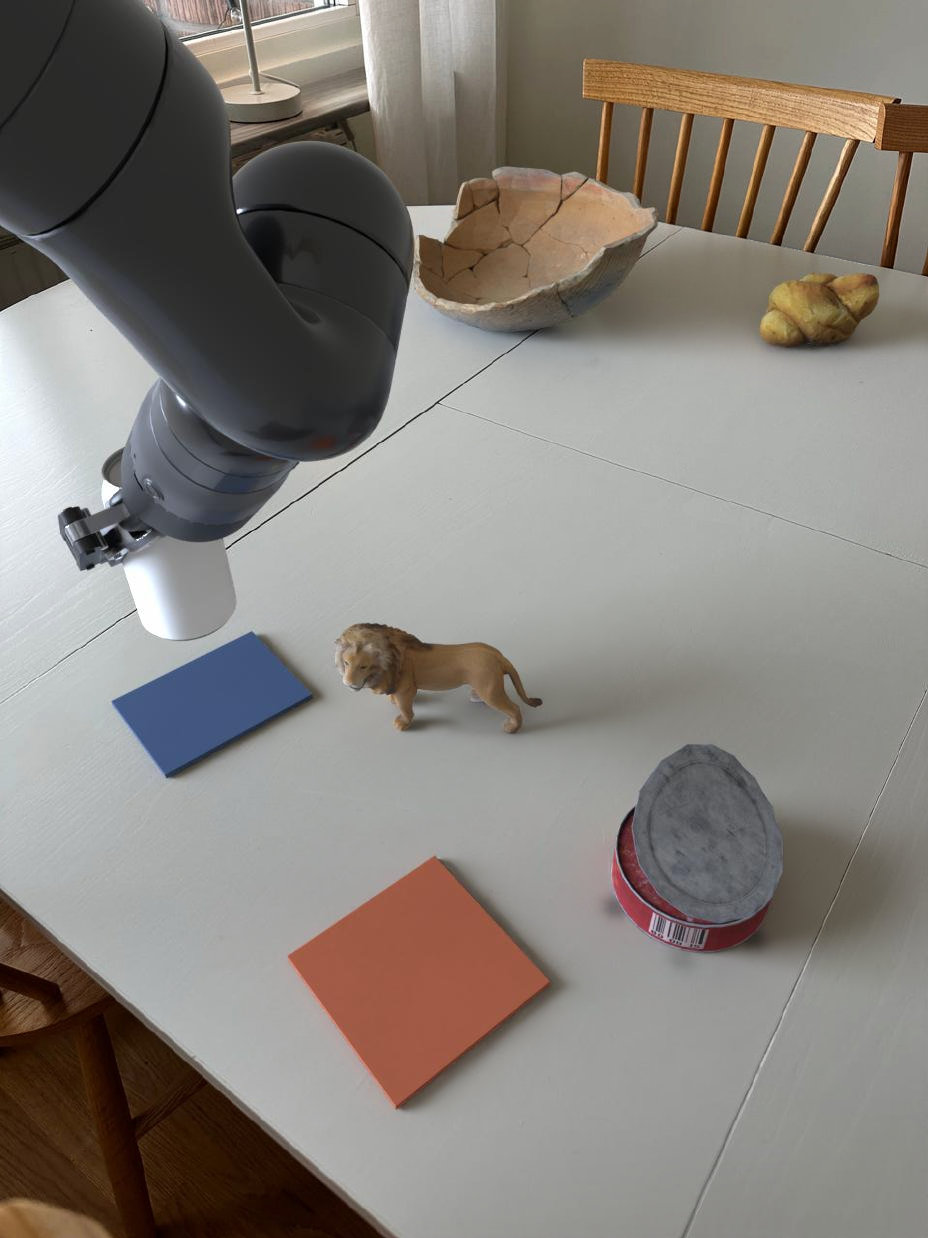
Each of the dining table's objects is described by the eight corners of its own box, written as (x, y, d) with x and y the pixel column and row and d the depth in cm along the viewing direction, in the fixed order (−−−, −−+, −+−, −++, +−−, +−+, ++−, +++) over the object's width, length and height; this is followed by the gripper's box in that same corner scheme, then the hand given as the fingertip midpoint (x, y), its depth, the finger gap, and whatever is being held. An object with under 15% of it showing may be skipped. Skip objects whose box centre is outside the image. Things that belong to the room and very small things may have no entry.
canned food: (720, 867, 67) (817, 785, 62) (728, 997, 59) (841, 918, 54) (580, 796, 66) (667, 705, 60) (569, 921, 58) (668, 830, 52)
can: (122, 616, 67) (72, 467, 58) (198, 569, 70) (160, 423, 62) (181, 659, 63) (136, 508, 55) (257, 607, 67) (226, 459, 59)
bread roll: (775, 362, 110) (790, 294, 105) (734, 325, 117) (746, 259, 112) (874, 346, 113) (894, 278, 108) (828, 310, 120) (844, 245, 115)
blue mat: (166, 778, 68) (165, 775, 68) (112, 704, 73) (111, 700, 73) (312, 697, 73) (312, 694, 73) (252, 634, 79) (252, 630, 78)
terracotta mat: (396, 1110, 52) (396, 1107, 51) (287, 959, 58) (286, 956, 58) (550, 984, 57) (550, 981, 56) (434, 858, 63) (434, 855, 63)
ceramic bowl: (357, 295, 120) (366, 165, 112) (496, 265, 138) (512, 150, 130) (550, 380, 106) (577, 238, 97) (677, 334, 124) (709, 211, 115)
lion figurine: (343, 749, 70) (330, 660, 64) (343, 694, 74) (331, 605, 68) (547, 733, 71) (553, 643, 65) (536, 680, 75) (541, 591, 68)
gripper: (298, 338, 52) (229, 438, 67) (32, 432, 45) (22, 520, 60) (363, 465, 52) (281, 537, 67) (110, 576, 46) (80, 628, 61)
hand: (158, 528), depth 64 cm, fingers closed on can, 6 cm apart
